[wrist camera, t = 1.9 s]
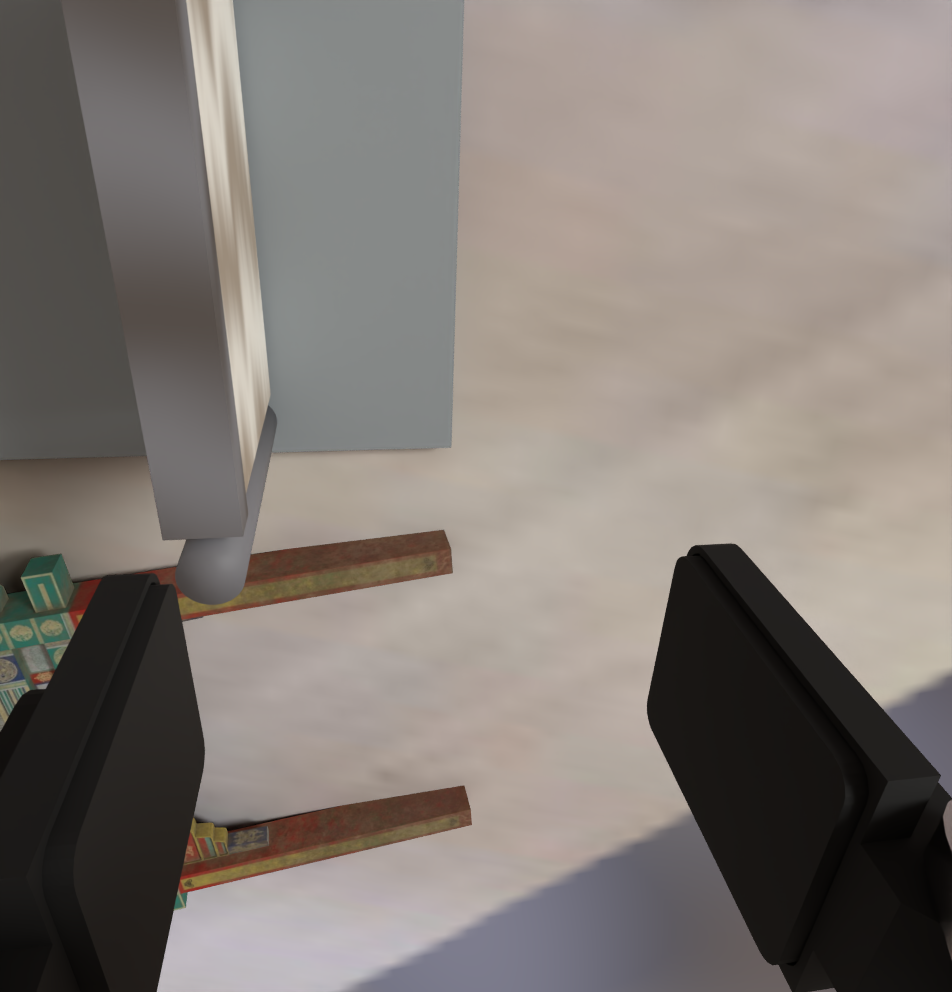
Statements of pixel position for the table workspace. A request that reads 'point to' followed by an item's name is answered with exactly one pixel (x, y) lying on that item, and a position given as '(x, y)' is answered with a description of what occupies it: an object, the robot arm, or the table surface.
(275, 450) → the gray panel stand
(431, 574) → the miniature gate
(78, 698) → the robot arm
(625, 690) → the table surface
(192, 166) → the gate
